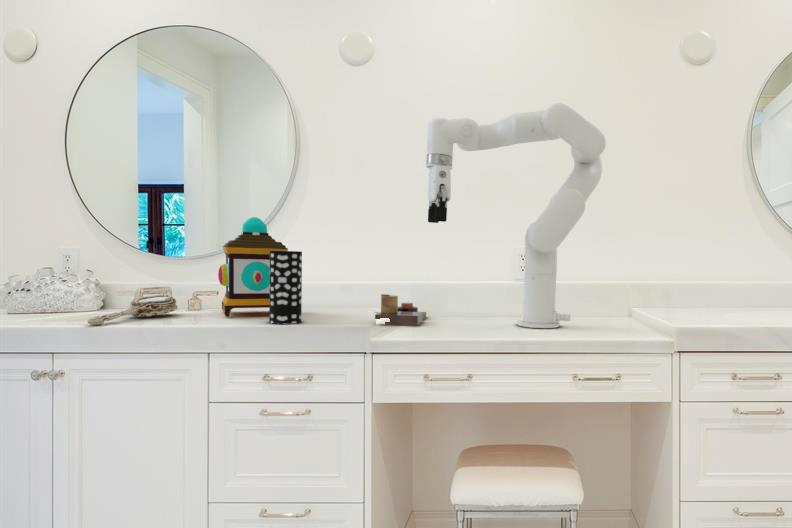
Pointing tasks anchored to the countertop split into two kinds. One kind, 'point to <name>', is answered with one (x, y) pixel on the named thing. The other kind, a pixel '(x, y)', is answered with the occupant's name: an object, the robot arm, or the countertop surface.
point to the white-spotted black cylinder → (285, 287)
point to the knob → (389, 304)
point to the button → (406, 305)
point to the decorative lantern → (248, 267)
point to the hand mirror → (141, 308)
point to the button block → (411, 310)
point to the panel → (402, 318)
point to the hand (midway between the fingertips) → (436, 221)
